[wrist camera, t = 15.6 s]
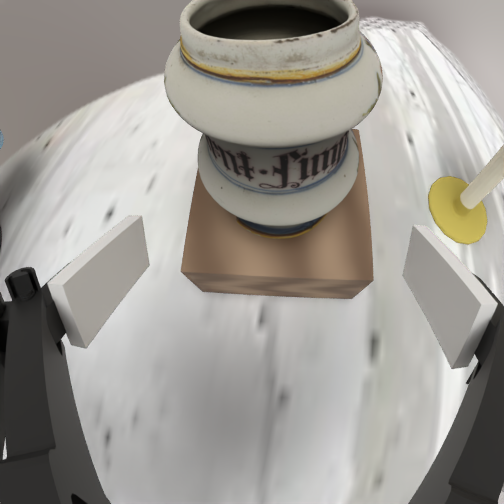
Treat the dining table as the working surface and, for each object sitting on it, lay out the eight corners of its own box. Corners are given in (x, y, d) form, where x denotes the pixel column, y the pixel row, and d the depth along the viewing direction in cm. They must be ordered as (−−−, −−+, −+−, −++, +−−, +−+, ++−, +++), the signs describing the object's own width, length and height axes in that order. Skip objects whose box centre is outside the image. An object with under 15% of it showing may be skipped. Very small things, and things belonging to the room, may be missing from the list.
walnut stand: (202, 291, 33) (180, 271, 26) (219, 166, 38) (206, 125, 31) (351, 298, 31) (373, 280, 24) (346, 171, 37) (358, 129, 29)
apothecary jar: (188, 181, 28) (112, 17, 12) (287, 120, 30) (285, -41, 13) (265, 281, 25) (236, 118, 8) (371, 200, 26) (447, 31, 9)
